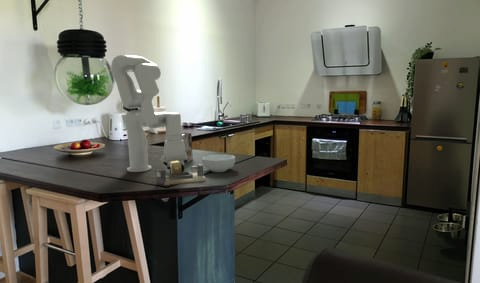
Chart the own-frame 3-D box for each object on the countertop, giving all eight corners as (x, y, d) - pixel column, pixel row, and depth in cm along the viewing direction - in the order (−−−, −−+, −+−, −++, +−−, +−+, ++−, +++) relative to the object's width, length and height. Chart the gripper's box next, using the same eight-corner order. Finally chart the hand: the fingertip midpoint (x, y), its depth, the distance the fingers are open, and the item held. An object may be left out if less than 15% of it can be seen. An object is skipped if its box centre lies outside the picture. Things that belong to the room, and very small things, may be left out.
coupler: (173, 176, 177) (172, 164, 176) (170, 173, 185) (169, 161, 184) (182, 175, 179) (181, 163, 178) (178, 172, 186) (178, 160, 185)
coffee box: (182, 159, 217) (181, 132, 215) (193, 159, 216) (191, 132, 213) (177, 162, 208) (175, 134, 206) (187, 162, 207) (186, 134, 205)
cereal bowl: (238, 167, 193) (238, 154, 192) (231, 175, 177) (230, 160, 176) (208, 166, 197) (207, 153, 196) (198, 173, 181) (197, 160, 180)
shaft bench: (154, 179, 172) (153, 166, 171) (199, 174, 180) (198, 162, 179) (158, 186, 161) (157, 172, 160) (205, 180, 169) (205, 167, 168)
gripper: (189, 135, 185) (191, 170, 188) (155, 138, 179) (157, 173, 182) (192, 137, 178) (194, 173, 181) (157, 140, 172) (159, 177, 175)
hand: (176, 173), depth 181 cm, fingers open, 5 cm apart
